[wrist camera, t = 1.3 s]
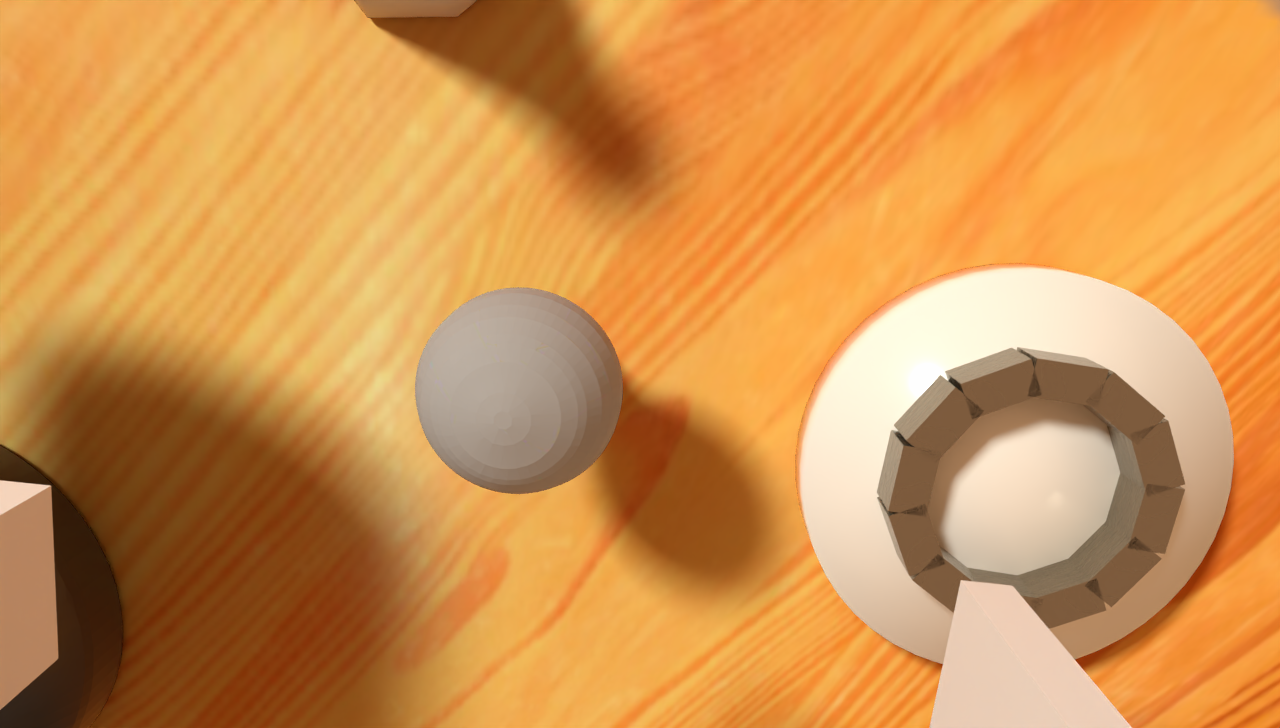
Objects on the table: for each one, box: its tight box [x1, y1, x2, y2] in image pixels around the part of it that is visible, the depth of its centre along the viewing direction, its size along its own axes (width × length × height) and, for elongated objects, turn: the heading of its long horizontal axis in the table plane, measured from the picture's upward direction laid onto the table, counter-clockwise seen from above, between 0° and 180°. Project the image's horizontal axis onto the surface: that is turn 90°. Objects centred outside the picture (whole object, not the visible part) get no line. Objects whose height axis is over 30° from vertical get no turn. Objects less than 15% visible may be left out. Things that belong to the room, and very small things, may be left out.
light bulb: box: [415, 288, 623, 494], centre depth 27 cm, size 6×6×10 cm
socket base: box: [795, 263, 1234, 664], centre depth 31 cm, size 14×14×2 cm
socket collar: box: [877, 347, 1185, 629], centre depth 29 cm, size 9×9×2 cm
